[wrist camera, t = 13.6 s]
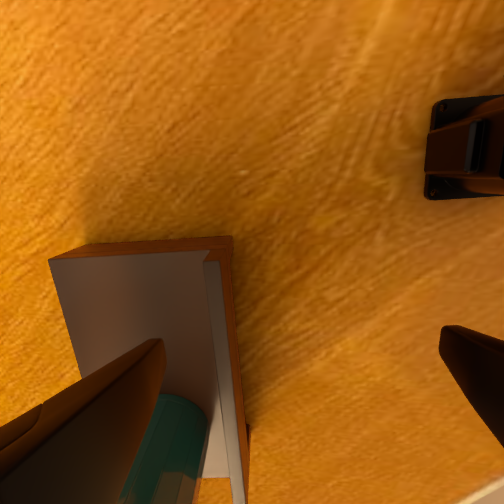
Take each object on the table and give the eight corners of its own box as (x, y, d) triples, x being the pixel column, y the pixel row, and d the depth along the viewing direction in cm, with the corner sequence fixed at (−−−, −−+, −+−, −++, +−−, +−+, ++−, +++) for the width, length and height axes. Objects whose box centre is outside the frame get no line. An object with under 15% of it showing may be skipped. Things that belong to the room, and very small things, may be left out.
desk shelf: (232, 235, 21) (219, 260, 15) (250, 434, 27) (247, 513, 20) (84, 244, 22) (13, 272, 16) (132, 436, 27) (93, 514, 21)
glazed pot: (205, 392, 20) (170, 522, 13) (214, 458, 22) (189, 607, 15) (120, 394, 21) (37, 523, 13) (136, 459, 23) (71, 605, 15)
